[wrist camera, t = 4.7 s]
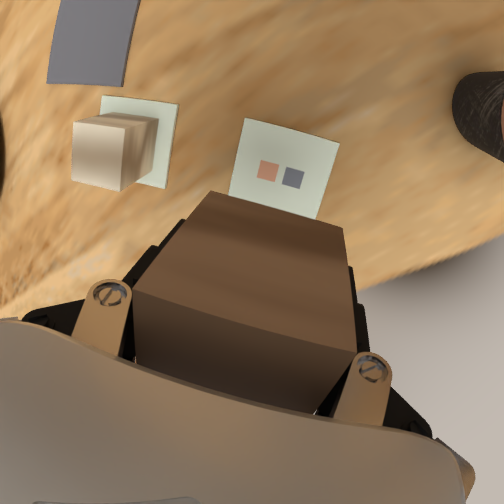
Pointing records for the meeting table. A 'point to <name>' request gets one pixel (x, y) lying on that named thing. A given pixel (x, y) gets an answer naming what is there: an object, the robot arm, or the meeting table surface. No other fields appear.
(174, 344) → the walnut block
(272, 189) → the tile
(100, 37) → the mat
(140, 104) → the tile
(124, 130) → the birch block
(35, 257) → the meeting table surface
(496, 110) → the travel mug
